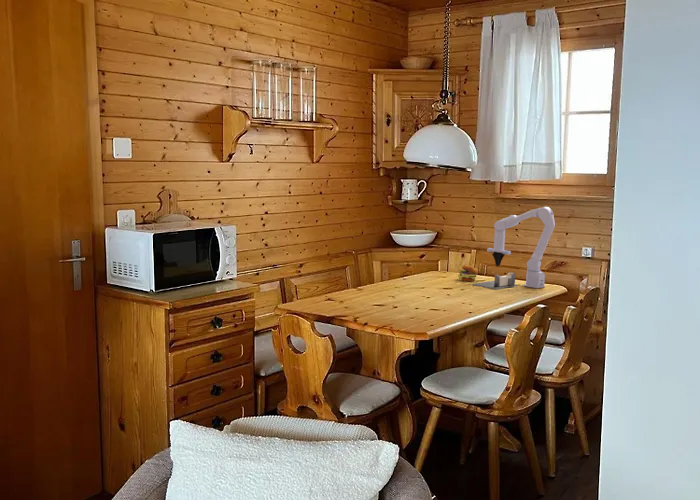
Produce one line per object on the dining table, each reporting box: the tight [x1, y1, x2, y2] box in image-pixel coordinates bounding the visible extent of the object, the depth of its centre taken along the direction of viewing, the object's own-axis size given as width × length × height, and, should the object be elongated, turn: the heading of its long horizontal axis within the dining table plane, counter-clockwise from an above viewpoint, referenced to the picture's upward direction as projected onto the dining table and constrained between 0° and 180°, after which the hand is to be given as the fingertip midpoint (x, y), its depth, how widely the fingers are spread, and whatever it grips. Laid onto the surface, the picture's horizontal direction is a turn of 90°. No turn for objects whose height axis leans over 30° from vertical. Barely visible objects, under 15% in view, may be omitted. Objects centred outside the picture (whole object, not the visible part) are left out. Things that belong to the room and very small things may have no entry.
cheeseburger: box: [458, 264, 479, 282], centre depth 396 cm, size 10×11×10 cm
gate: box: [499, 273, 512, 286], centre depth 379 cm, size 10×2×6 cm, turn 130°
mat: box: [472, 280, 518, 291], centre depth 382 cm, size 16×19×1 cm
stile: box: [507, 272, 516, 286], centre depth 382 cm, size 5×6×6 cm
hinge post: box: [493, 274, 500, 287], centre depth 375 cm, size 2×2×6 cm
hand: (497, 265), depth 391 cm, fingers closed
